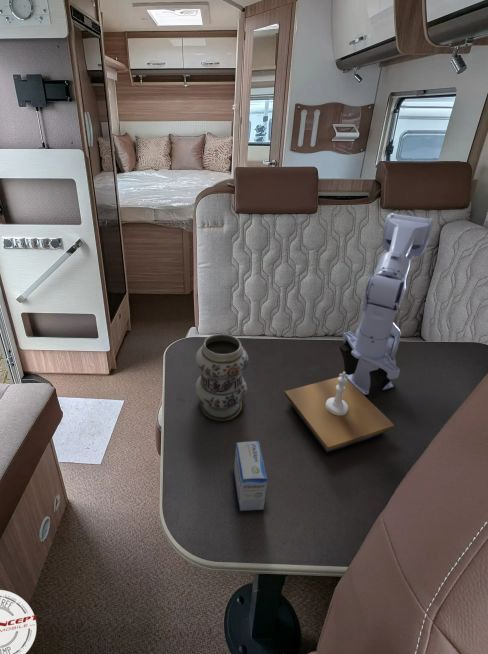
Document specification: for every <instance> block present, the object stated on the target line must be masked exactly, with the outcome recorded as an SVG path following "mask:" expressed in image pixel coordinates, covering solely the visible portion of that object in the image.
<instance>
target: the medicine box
mask: <svg viewBox="0 0 488 654" xmlns="http://www.w3.org/2000/svg"><path fill="white" fill-rule="evenodd" d="M233 467H234V468H233V475H234V482H235V488H236V494H237V500H238V507H239V511H243V512H245V511H261V510H262V511H263V510H264V508H265V502H266V494H267V486H268V477H267V473H266V468H265V463H264V460H263V455H262V451H261V447H260V443H259V441H258V440H255V441H239V442H236V444H235V455H234V465H233Z"/></svg>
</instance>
